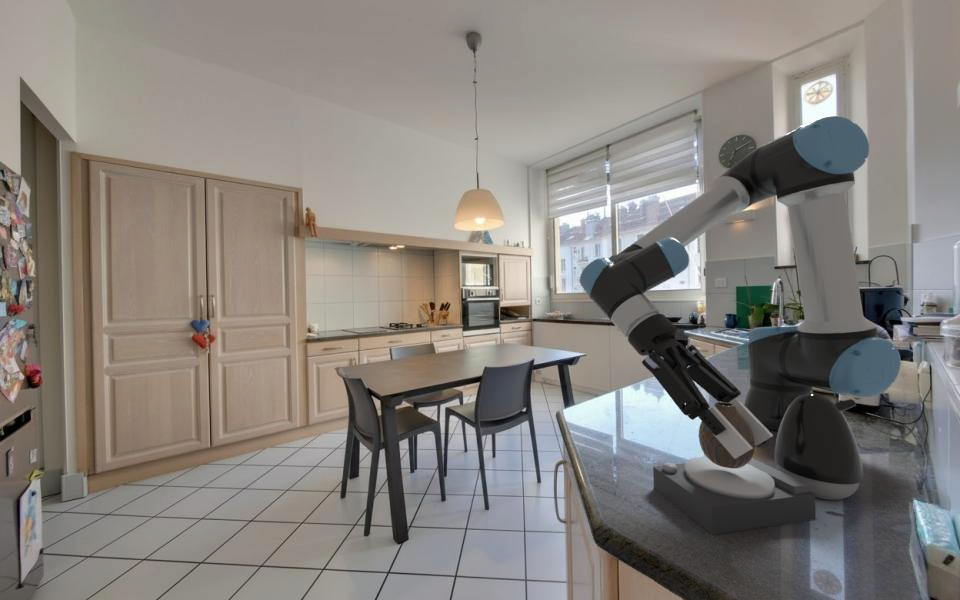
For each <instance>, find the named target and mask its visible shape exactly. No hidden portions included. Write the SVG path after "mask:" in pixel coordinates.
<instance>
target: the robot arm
mask: <svg viewBox="0 0 960 600" xmlns="http://www.w3.org/2000/svg"><path fill="white" fill-rule="evenodd" d="M869 153H870V144H869V140H868V137H867V135H866V133H865V131H864V130H863V129H862V128H861V126H860V125H859V124H857V123H856V122H853V121H852V120H851V119H849V118H848V117H845V116H842V115H841V116H840V115H825V116H822V117H818V118H816V119H815V120H812V121H810V122H806V123H803V124H801V125H799V126H798V127H797V128H794V129H793V130H791V131H789V132H787V133H785V134H783V135H781V136H779V137H777V138H775V139H773V140H771V141H769V142H767V143H765V144H762V145H760V146H759V147H757V148H755V149H754V150H752V151H751V152H749V153H748V154H747V155H745V156H744V157H742V159H740V160H739V161H737V162H736V163H735V164H734V165H732V167H730V168H729V169H727V170H726V171H725V172H724V173H722V174H721V175H720V176H719V177H717V178H715V179H714V180H713V181H712V183H711V186H710V188H709V189H707V190H706V191H705V192H703V193H701V194H700V195H698V197H696V198H694V200H692V201H691V202H690V203H688V204H687V205H685V206H683V207H682V208H681V209H679V210H678V211H677V212H675V213H674V214H672V215H671V216H669V217H668V218H667V219H666V220H664V221H662V222H661V223H659V224H658V225H657V226H655V227H654V228H653V229H652V230H650V231H648V232H647V233H645V234H644V235H643V236H641V237H640V238H639V239H637V240H636V241H634V242H633V243H631V245H629V246H627V247H626V248H625V249H623V250H622V251H620V252H619V253H617V254H615V255H611V256H610V257H608V258H607V257H601V258H596V259H594V260H592V261H591V262H590V263H588V264H587V265H586V266H585V267H584V268H583V270H582V271H581V274H580V277H579V283H580V285H581V287H582V288H583V290H584V291H585V293H586V294H587V295H588V297H589V298H590V300H592V302H594V304H595V305H596V306H597V307H598V308H599V309H600V310H601V311H602V312H603V313H604V315H606V317H607V318H608V319H609V321H610V322H612V324H613V325H614V326H615V327H616V330H617V331H618V332H620V333H621V334H622V335H623V337H625V338H627V342H628V343H629V344H630V346H631V347H632V348H633V349H634V350H635V351H636V352H637V353H638V355H640V356H643V357H645V356H646V357H645V358H644V359H643V360H642V361H641V364H642V365H643V366H644V367H645V368H646V369H647V370H648V371H649V372H650V373H651V374H652V375H653V377H654V378H655V379H656V380H657V382H659V384H660V386H661V387H662V388H663V389H664V390H665V392H666V393H667V394H668V396H669V397H670V398H671V400H672V401H673V402H674V404H675V405H676V406H677V407H678V409H679V410H680V411H681V413H682V414H683V415H685V416H687V417H688V418H689V420H692V421H693V420H695V419H696V418H699V420H700V421H701V422H703V423H704V424H705V425H706V426H707V428H708V429H709V430H710V431H711V432H712V433H713V434H714V436H715V437H716V438H717V439H718V440H719V441H720V443H721V444H722V445H723V446H724V447H725V448H726V449H727V451H728V452H729V453H730V454H731V455H732V456H733V458H734V459H736V458H738V457H739V456H741V455H743V454H744V453H746V452H748V451H749V450H751V449H753V448H752V446H751V445H750V444H749V443H748V442H747V441H746V440H745V439H744V438H743V437H742V435H741V434H740V433H739V432H738V431H737V430H736V429H735V428H734V427H733V426H732V425H731V423H730V422H729V421H728V420H727V419H726V418H725V417H724V416H723V415H722V414H721V412H720V411H719V410H718V409H717V408H716V407H715V406H714V405H713V406H712V407H711V405H710V404H709V403H708V401H707V399H706V398H705V397H704V395H703V394H702V392H701V390H700V389H699V388H698V386H699V387H700V388H701V389H703V390H704V391H705V392H706V393H708V394H709V395H710V396H711V397H713V399H715V400H716V401H717V402H727V403H732V404H734V405H735V407H736V409H737V411H738V412H739V414H740V415H741V416H742V417H743V418H744V419H745V421H746V422H747V423H748V424H749V426H750V428H751V430H752V433H753V436H754V442H755V447H757V446H758V445H760V444H762V443H764V442H766V441H767V440H769V439H770V438H772V437H774V435H773V433H771V432H770V430H774V431H777V432H778V430H779V427H780V424H781V421H782V419H783V416H784V414H785V412H786V410H787V408H788V407H789V405H790V404H791V403H792V401H793V400H794V399H795V398H796V397H798V396H800V395H802V394H806V393H813V392H814V391H813V388H815V389H820V390H824V391H827V392H831V393H836V394H838V395H840V396H850V397H854V398H856V397H857V398H862V399H863V398H872V397H877V396H878V395H881V394H882V393H884V392H886V391H887V390H888V389H890V387H891V386H892V385H893V383H895V381H896V379H897V378H898V376H899V374H900V371H901V365H902V364H901V363H902V362H901V361H902V360H901V354H900V352H899V350H898V348H897V346H895V345H894V344H893V343H892V342H891V341H890V340H888V339H886V338H885V339H884V338H882V337H879V336H878V329H877V325H876V323H874V322H873V321H870V320H869V319H867V318H866V317H865V316H864V312H863V311H864V310H863V306H862V299H861V292H860V286H859V279H858V273H857V265H856V259H855V252H854V251H855V250H854V244H853V238H852V232H851V226H850V219H849V217H850V216H849V212H848V204H847V199H846V198H847V197H846V194H847V193H848V191H850V189H852V187H853V186H854V185H855V183H856V180H855V173H854V172H856V171H857V170H859V169H860V168H861V167H862V166H863V165H864V164H865V162H866V159H867V158H869V157H868V156H869ZM775 196H776V200H777V202H778V203H781V204H782V205H784V206H786V207H787V209H788V210H787V211H788V217H789V222H790V228H791V229H790V230H791V237H792V244H793V250H794V256H795V263H796V270H797V277H798V284H799V288H800V289H799V290H800V297H801V303H802V310H803V316H804V317H803V318H804V320H803V321H802V322H801V323H800V324H799V325H780V326H763V327H761V326H760V327H754V328H752V329H751V330H750V331H749V333H748V342H747V346H748V349H747V350H748V368H749V369H748V371H749V373H748V374H749V388H748V392H747V394H746V398H745V400H744V403H742V402H741V400H739V398H738V397H739V396H740V395H742V393H741V391H740V390H739V389H738V387H736V385H734V384H733V383H732V382H731V381H730V380H729V379H728V378H727V377H726V376H725V375H724V374H723V373H721V372H720V371H719V370H718V368H716V367H715V366H714V365H713V364H712V363H711V362H710V361H709V360H708V359H707V358H706V357H705V356H703V354H702V353H701V352H700V350H699V349H698V348H697V347H696V346H695V345H693V344H690V345H689V346H688V347H686V346H684V344H682V343H681V342H679V341H678V340H677V339H676V336H675V335H676V334H677V332H678V330H677V327H676V325H674V323H672V321H670V319H668V317H667V316H665V314H663V313H661V310H660V309H659V308H658V307H657V306H656V304H654V303H653V302H652V301H651V299H650V298H648V297H647V296H646V295H645V294H644V293H646V292H648V291H650V290H652V289H654V288H656V287H657V286H660V285H661V284H664V283H665V282H667V281H669V280H670V279H673V278H676V276H678V275H680V274H682V272H684V271H685V270H686V269H687V268H688V267H689V263H690V257H689V254H688V251H687V249H686V246H689V244H690V243H693V242H694V241H695V240H696V239H698V238H699V237H700V236H702V235H703V234H705V233H706V232H708V231H709V230H711V229H712V228H714V227H715V226H716V225H718V224H719V223H720V222H721V221H723V220H724V219H726V218H727V217H729V216H730V215H732V214H738V213H741V212H743V211H744V210H746V209H747V208H749V207H751V206H753V205H754V204H757V203H760V202H762V201H764V200H766V199H770V198H773V197H775ZM697 385H698V386H697Z"/></svg>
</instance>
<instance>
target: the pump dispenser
mask: <svg viewBox="0 0 960 600" xmlns="http://www.w3.org/2000/svg"><path fill="white" fill-rule="evenodd" d="M856 406H857V403H856V401H855V400H854V399H850V398H849V399H846V400H841V401H837V402H834V401H833V400H832V399H830V398H829V397H827V396H825V395H822V394H821V393H820V394H819V393H815V392H814V393H806V394H802V395H800V396H798V397H796V398H795V399H794V400H793V401H792V403H791V404H790V405H789V407H788V408H787V410H786V412H785V414H784V416H783V419H782V421H781V424H780V427H779V430H778V431H777V434H776V438H775V439H776V440H775V446H774V454H773V455H774V462H775V464H776V465H777V467H778V471H781V472H783V473H785V474H787V475H789V476H791V477H793V478H796V479H798V480H800V481H802V482H804V483H806V484H808V485H809V491H810V492H812V493H814V494H815V498H817V499H822V500H829V501H830V500H843V499H847V498H849V497H851V496H852V495H853V494H854V493H856V492H857V490H858V489H859V486H860V483H861V482H862V481H863V479H864V468H863V464H862V463H863V462H862V459H861V454H860V453H861V452H860V449H859V447H858V444H857V441H856V438H855V435H854V433H853V430H852V428H851V426H850V424H849V422H848V420H847V418H846V416H845V415H844V414H843V412H844V411H846V410H849V409H851V408H853V407H856Z"/></svg>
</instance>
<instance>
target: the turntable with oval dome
mask: <svg viewBox="0 0 960 600" xmlns="http://www.w3.org/2000/svg"><path fill="white" fill-rule="evenodd" d="M652 468H653V469H652V470H653V471H652V473H653V474H652V475H653V476H652V477H653V489H654V490H655V491H657V492H658V493H659V494H660V495H661V496H663V497H664V498H665V499H667V501H669V502H670V503H671V504H673V505H674V506H675V507H677V508H678V509H679V510H680V511H682V512H683V513H684V514H686V515H687V516H688V517H689V518H691V519H692V520H693V521H694V522H696V523H697V524H698V525H699V526H701V527H702V528H703V529H705V530H706V531H707V532H708V533H709V534H711V535H712V536H714V535H718V534H719V535H721V534H726V533H733V532H740V531H746V530H754V529H760V528H767V527H774V526H775V527H776V526H780V525H787V524H794V523H801V522H808V521H815V520H816V519H817V514H816V513H817V510H816V509H817V508H816V497H815V494H814V493H812V492H810V491H809V485H808V484H806V483H804V482H802V481H800V480H798V479H796V478H793V477H791V476H789V475H787V474H785V473H783V472H781V471H780V470H779V469H776V468H775V467H772V466H770V465H768V464H765V463H763V462H761V461H759V460H757V459H755V458H753V457H752V458H751V460H750V461H749V462H748V463H747V464H746V465H745V466H743V467H741V468H726V467H722V466H719V465H716V464H714V463H713V462H711V461H710V460H709V459H708V458H707V456H699V457H697V456H696V457H693V458H689V459H688V460H687V461H686V462H684V463H677V464H676V463H672V462H663V463H662V465H658V466H653V467H652Z"/></svg>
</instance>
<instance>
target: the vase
mask: <svg viewBox="0 0 960 600" xmlns="http://www.w3.org/2000/svg"><path fill="white" fill-rule="evenodd" d="M714 406H715V407H716V408H717V409H718V410H719V411H720V412H721V414H722V415H723V416H724V417H725V418H726V419H727V420H728V421H729V422H730V423H731V425H732V426H733V427H734V428H735V429H736V430H737V431H738V432H739V433H740V434H741V435H742V437H743V438H744V439H745V440H746V441H747V442H748V443H749V444H750V445H751V446H752V448H753V449H751V450H749V451H748V452H746V453H744V454H743V455H741V456H739V457H738V458H736V459H734V458H733V456H732V455H731V454H730V453H729V452H728V451H727V449H726V448H725V447H724V446H723V445H722V444H721V443H720V441H719V440H718V439H717V438H716V437H715V436H714V434H713V433H712V432H711V431H710V430H709V429H708V428H707V426H706V425H705V424H704V423H703V422H702V421H701V422H700V425H699V427H698V428H699V429H698V440H699V445H700V448H701V450H702V453H703V454H704V455H705V457H707V458H708V459H709V460H710V461H711V462H713V463H714V464H716V465H719V466H722V467H726V468H741V467H743V466H745V465H746V464H747V463H748V462H749V461H750V460H751V458H753V456H754V452H755V447H756V445H755V442H754V436H753V433H752V430H751V428H750V426H749V424H748V423H747V422H746V421H745V419H744V418H743V417H742V416H741V415H740V414H739V412H738V411H737V409H736V407H735V405H734V404H732V403H727V402H718V401H717V402H715V403H714V405H713V407H714Z"/></svg>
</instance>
